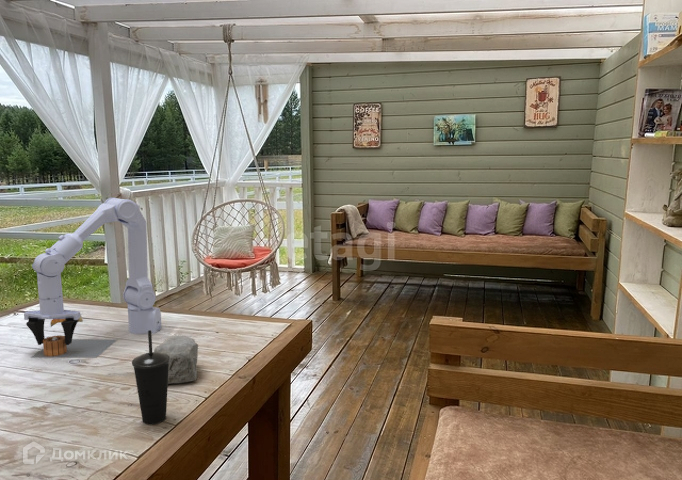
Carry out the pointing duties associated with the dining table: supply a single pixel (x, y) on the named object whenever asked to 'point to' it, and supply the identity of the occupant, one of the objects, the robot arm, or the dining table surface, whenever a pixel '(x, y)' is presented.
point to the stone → (180, 358)
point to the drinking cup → (152, 384)
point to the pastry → (61, 321)
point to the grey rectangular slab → (82, 349)
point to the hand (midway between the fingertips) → (55, 343)
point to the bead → (54, 346)
